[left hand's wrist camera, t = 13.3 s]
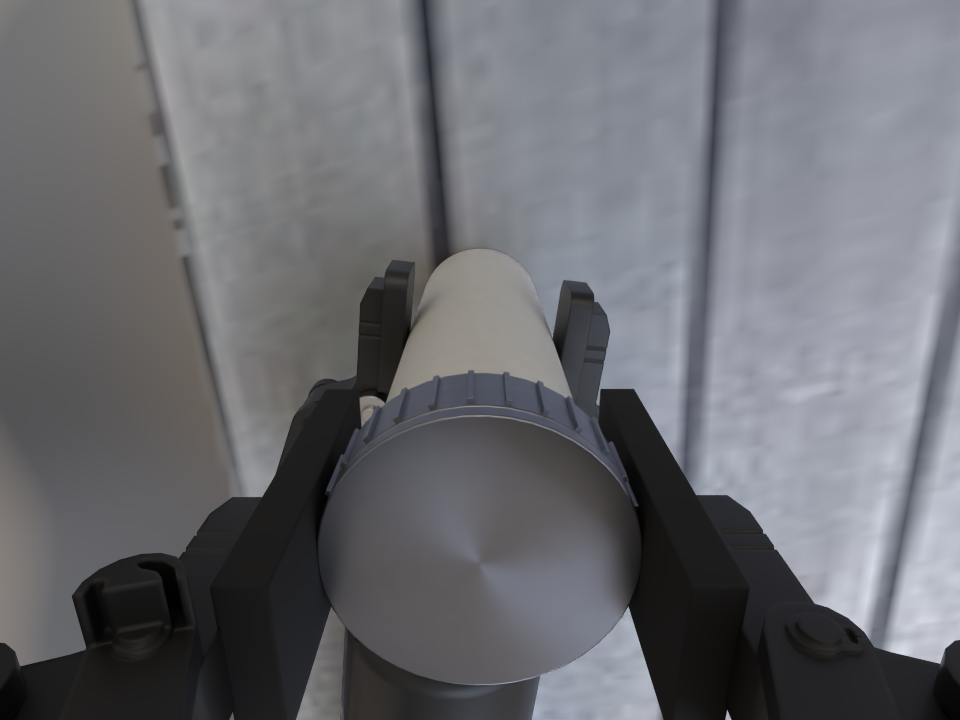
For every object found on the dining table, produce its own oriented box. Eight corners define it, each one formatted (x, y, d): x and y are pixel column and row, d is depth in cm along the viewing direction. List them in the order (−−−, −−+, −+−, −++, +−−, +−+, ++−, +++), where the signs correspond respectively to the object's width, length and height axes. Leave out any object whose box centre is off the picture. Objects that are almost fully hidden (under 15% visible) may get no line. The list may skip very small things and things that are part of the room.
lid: (275, 472, 12) (241, 529, 10) (518, 308, 11) (525, 342, 9) (448, 657, 14) (444, 733, 12) (677, 531, 12) (708, 595, 11)
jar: (399, 292, 26) (288, 519, 11) (494, 224, 25) (515, 371, 10) (467, 379, 27) (451, 687, 12) (559, 318, 26) (664, 572, 11)
